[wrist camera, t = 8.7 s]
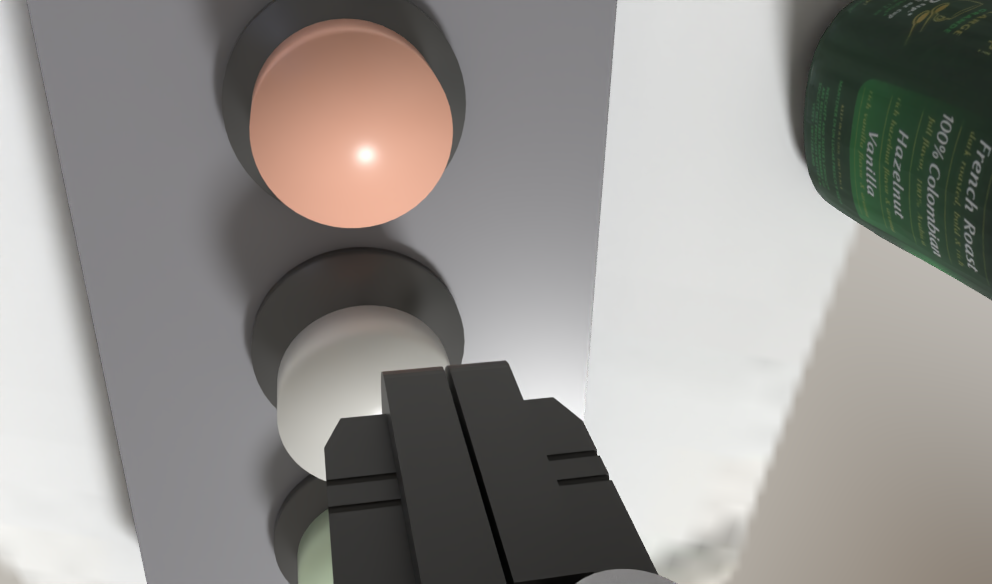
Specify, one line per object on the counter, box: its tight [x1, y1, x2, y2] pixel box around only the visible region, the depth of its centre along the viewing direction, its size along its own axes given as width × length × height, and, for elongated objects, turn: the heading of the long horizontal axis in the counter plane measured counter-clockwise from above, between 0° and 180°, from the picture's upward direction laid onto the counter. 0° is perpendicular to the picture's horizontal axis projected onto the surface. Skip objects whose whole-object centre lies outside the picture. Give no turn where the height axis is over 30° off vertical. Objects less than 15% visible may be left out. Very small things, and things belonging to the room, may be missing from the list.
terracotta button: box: [249, 19, 453, 228], centre depth 22 cm, size 5×5×2 cm
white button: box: [277, 305, 450, 481], centre depth 24 cm, size 5×5×2 cm
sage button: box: [297, 509, 333, 584], centre depth 28 cm, size 5×5×2 cm
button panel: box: [27, 0, 617, 584], centre depth 28 cm, size 21×14×4 cm, turn 179°
